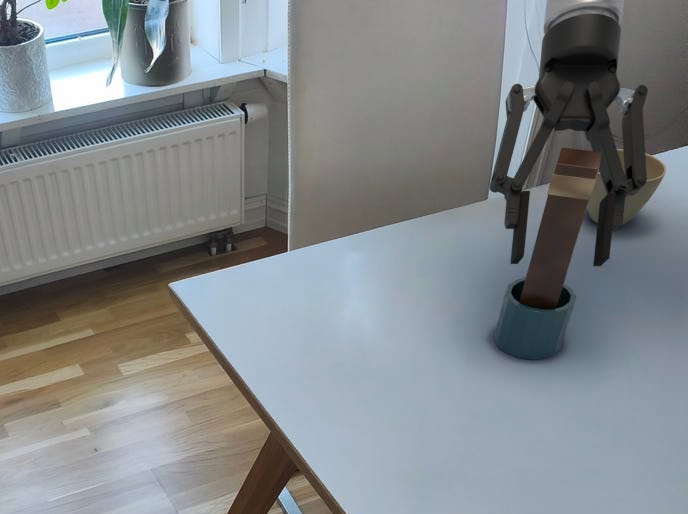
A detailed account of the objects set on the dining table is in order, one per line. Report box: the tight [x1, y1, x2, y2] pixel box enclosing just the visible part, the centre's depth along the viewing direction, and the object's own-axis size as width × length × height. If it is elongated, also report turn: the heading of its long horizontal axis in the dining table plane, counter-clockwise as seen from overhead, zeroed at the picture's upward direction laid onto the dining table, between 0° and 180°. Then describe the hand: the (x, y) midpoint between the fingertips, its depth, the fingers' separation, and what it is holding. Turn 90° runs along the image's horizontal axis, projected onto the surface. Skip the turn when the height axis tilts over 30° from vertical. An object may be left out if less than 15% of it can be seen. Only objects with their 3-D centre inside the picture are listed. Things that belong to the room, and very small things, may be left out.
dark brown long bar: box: [519, 147, 602, 310], centre depth 96 cm, size 4×4×20 cm
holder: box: [494, 276, 577, 360], centre depth 102 cm, size 8×8×6 cm
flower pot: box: [586, 148, 667, 226], centre depth 119 cm, size 10×10×7 cm
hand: (558, 260), depth 93 cm, fingers open, 8 cm apart
